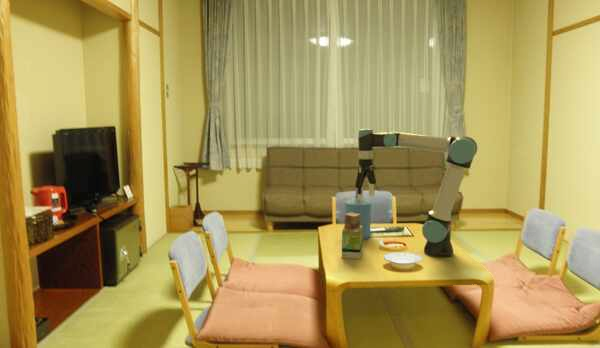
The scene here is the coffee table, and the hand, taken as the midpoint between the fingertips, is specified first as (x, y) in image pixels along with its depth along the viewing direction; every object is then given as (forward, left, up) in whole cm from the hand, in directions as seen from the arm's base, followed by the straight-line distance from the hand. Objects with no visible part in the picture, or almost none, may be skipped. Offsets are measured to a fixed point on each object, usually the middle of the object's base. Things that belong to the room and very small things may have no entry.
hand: (366, 198), depth 260 cm
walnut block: (+4, +8, -15) cm, 17 cm away
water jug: (+18, -25, -30) cm, 43 cm away
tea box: (+4, +8, -30) cm, 31 cm away
